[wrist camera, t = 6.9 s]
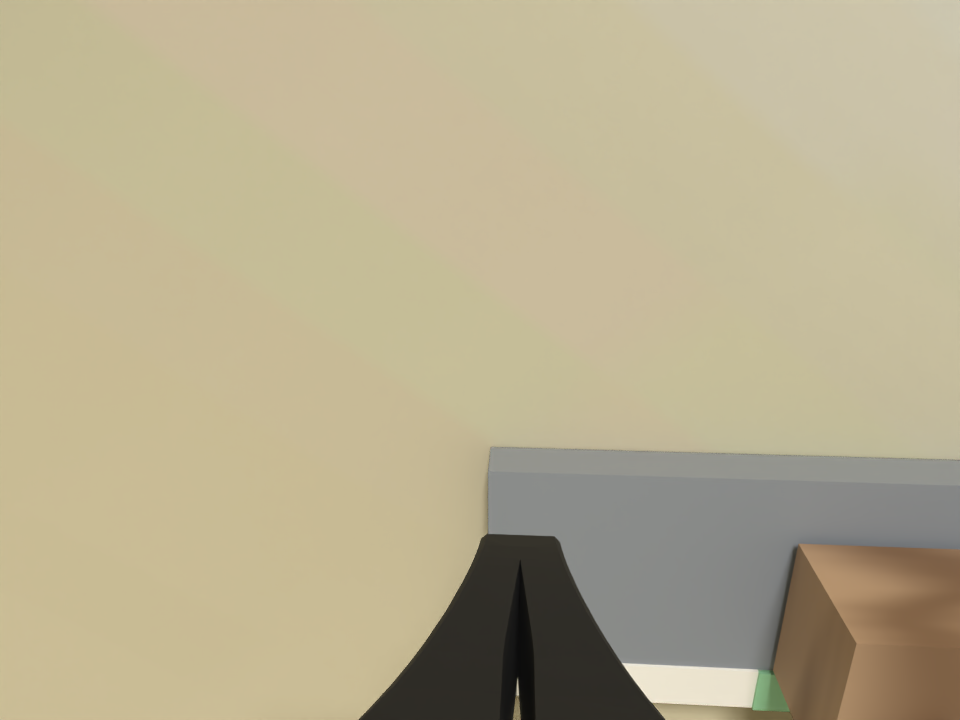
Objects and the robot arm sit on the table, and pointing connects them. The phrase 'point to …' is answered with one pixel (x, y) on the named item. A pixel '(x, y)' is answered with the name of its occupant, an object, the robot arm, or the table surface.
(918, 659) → the block
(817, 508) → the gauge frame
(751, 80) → the table surface
